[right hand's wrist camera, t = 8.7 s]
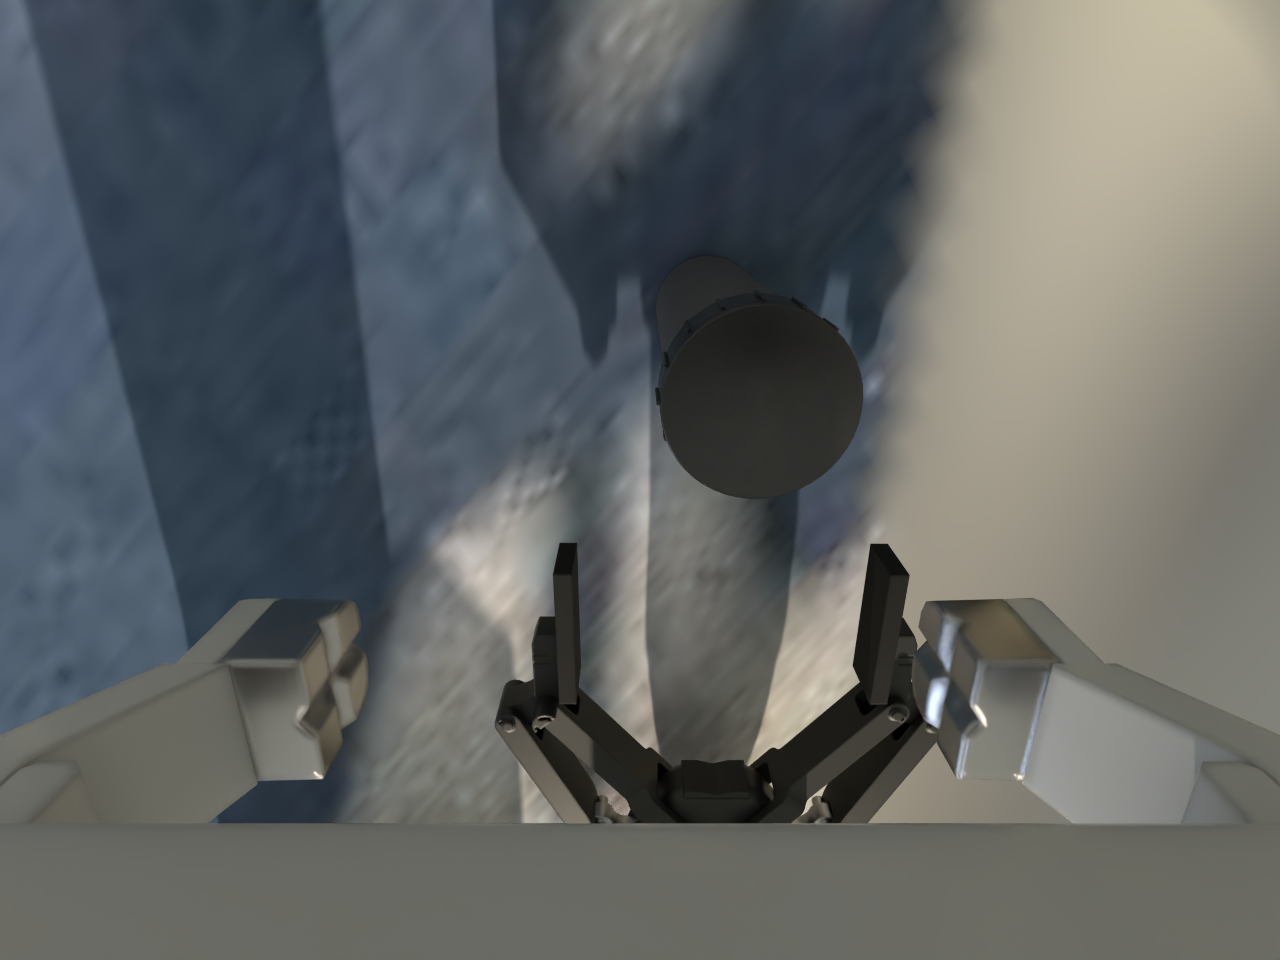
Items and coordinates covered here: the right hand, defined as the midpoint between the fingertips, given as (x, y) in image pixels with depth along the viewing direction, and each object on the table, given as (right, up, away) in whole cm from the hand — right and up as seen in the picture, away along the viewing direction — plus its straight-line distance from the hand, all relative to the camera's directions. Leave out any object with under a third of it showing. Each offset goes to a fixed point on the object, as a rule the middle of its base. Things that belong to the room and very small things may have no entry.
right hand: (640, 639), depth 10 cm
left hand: (+4, -1, +19) cm, 20 cm away
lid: (+3, +4, +8) cm, 10 cm away
